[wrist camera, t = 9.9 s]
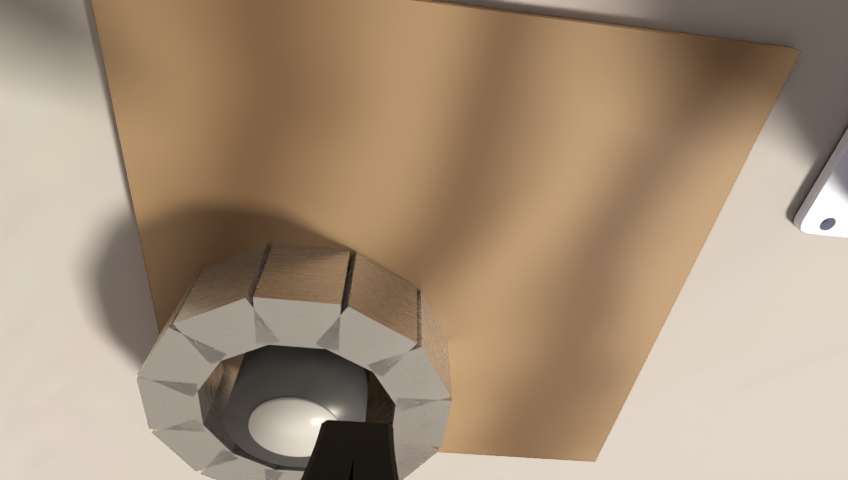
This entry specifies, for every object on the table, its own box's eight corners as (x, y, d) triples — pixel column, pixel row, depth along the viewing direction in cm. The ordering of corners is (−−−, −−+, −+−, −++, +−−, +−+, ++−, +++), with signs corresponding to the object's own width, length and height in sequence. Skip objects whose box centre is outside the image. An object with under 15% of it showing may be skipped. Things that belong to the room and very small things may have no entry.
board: (792, 47, 16) (801, 51, 16) (592, 454, 27) (595, 461, 27) (90, -45, 14) (82, -43, 14) (183, 428, 25) (180, 435, 25)
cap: (373, 313, 21) (366, 387, 18) (369, 397, 24) (362, 473, 21) (243, 304, 21) (213, 378, 18) (253, 391, 23) (230, 468, 20)
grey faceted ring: (464, 259, 20) (471, 315, 17) (426, 445, 26) (427, 505, 23) (153, 231, 19) (113, 285, 16) (190, 429, 25) (165, 491, 22)
